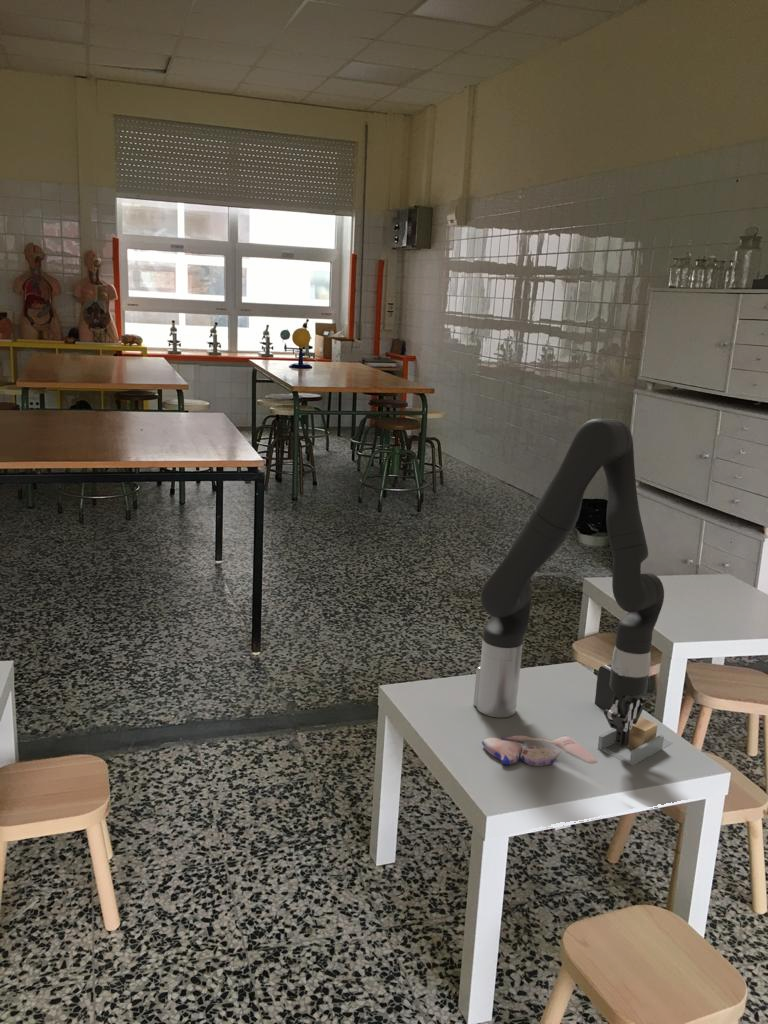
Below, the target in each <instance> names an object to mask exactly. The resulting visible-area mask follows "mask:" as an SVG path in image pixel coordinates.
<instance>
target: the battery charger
mask: <svg viewBox="0 0 768 1024" xmlns="http://www.w3.org/2000/svg"><path fill="white" fill-rule="evenodd" d="M611 666H612V664H607V665H606V664H603V665H601V666H599V668H598V671H597V678H596V686H595V687H596V688H595V697H594V705H595V706H597V707H598V708H600V709H601V710H603V711H605V710H606V709H608V710H610V709H611V707H612V706H613V705H612V699H613V697H614V692H613V690H612V689H611V688H610V685H609V684H610V675H611Z"/></svg>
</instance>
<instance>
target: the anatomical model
mask: <svg viewBox="0 0 768 1024" xmlns="http://www.w3.org/2000/svg"><path fill="white" fill-rule="evenodd" d="M524 741H538V742H545V743H549V744H552V745H555V746H556V747H558V748H559V749H561V750H562V751H564V752H565V753H567V754H569V755H570V756H572V757H574V758H576V759H579V760H581V761H583V762H585V763H587V764H592V765H593V764H597V763H598V760H597V758H596V757H594V756H593V755H592V754H591V753H590V752H589V751H588V750H586V749H585V747H584V746H582V745H581V744H580V743H578V742H577V740H574V739H573V738H572V737H570V736H568V735H563V736H561V737H559V738H555V739H554V740H553V739H552V740H550V739H549V740H548V739H545V738H541V737H540V738H538V737H535V738H534V737H531V736H527V735H521V734H520V735H511V736H505V737H487V738H486V739H484V740H482V741H481V745H482V746H483V748H484V749H485V751H487V752H488V753H489V754H490V755H491V756H493V757H494V758H496V759H498V760H500V762H501V763H502V764H504V765H512V764H516V763H518V761H519V760H521V761H522V762H524V763H525V764H527V765H530V766H535V767H541V766H548V765H552V764H554V763H555V762H556V761H557V760H558V759H557V758H558V756H559V755H560V754H561V751H560V750H557V749H555V748H551V747H546V746H537V745H529V746H525V747H523V749H522V746H521V744H525V742H524ZM520 743H521V744H520Z"/></svg>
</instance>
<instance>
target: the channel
mask: <svg viewBox="0 0 768 1024" xmlns="http://www.w3.org/2000/svg"><path fill="white" fill-rule="evenodd" d="M615 739H616V729H614V728H612V729H610V730H608V731H606V732H605V733H604V732H603V733H602V734H599V737H598V741H597V742H598V744H597V749H598V750H600V751H601V752H604V753H606V754H608V755H610V756H612V757H614V758H616V759H618V760H619V761H622V762H624V763H627V764H629V765H630V766H635V765H637V764H639V763H640V762H642V761H643V760H646V759H647V758H650V757H651V756H653V755H654V754H656V753H658V752H659V751H662V750H663V749H665V748H667V747H668V746H670V745H672V744H673V742H672V741H670V740H668V739H665V737H664V735H662V734H659V735H656V738H654V739H652V740H650V741H648V742H647V743H645V744H643V745H641V746H639V747H637V748H636V749H634V748H632V747H629V746H625V747H627V748H628V749H631V751H630V759H629V758H626V757H625V756H623V755H620V754H619V753H617V752H614V751H612V750H610V749H608V747H610V746H611V745H613V744H616V743H615Z"/></svg>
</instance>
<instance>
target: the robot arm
mask: <svg viewBox="0 0 768 1024" xmlns="http://www.w3.org/2000/svg"><path fill="white" fill-rule="evenodd" d="M601 468H603V471H604V475H605V479H606V484H607V503H606V504H607V505H606V515H605V516H606V518H605V519H606V530H607V537H608V540H609V545H610V550H611V554H612V578H611V579H612V580H611V581H612V582H611V584H612V594H613V597H614V600H615V602H616V604H617V605H618V606H619V608H621V609H622V610H623V611H625V612H627V614H626V615H625V616H624V617H622V618H621V619H620V620H619V621H618V623H617V627H616V632H615V633H616V636H615V644H614V649H613V653H612V658H611V659H612V660H611V665H612V666H611V675H610V684H609V685H610V688H611V689H612V690H613V692H614V697H613V699H612V705H613V706H612V707H611V709H610V710H608V709H606V710H603V711H604V712H603V714H604V716H605V718H606V720H607V721H606V722H608V725H609V728H612V729H616V739H615V743H614V744H615V745H616V746H617V747H621V748H625V747H626V746H627V745H628V740H629V732H630V730H631V728H632V725H633V724H636V723H637V721H638V719H639V717H641V715H642V712H643V710H644V709H645V706H646V704H647V702H648V700H647V698H645V697H643V695H645V694H647V691H648V684H649V678H650V677H649V676H650V675H649V674H650V670H651V669H650V667H651V648H652V640H653V631H654V629H655V626H656V624H657V622H658V619H659V615H660V613H661V610H662V609H663V605H664V599H665V588H664V585H663V582H662V580H661V579H660V578H659V577H658V576H657V575H655V573H651V572H645V573H644V572H643V573H642V572H641V565H642V563H643V562H644V561H645V560H647V559H648V557H649V549H648V544H647V538H646V533H645V531H644V526H643V521H642V516H641V513H640V507H639V499H638V492H637V481H636V470H635V469H636V468H635V451H634V441H633V435H632V431H631V429H630V427H629V426H628V425H627V424H626V423H625V422H624V421H622V420H620V419H616V418H601V417H598V418H592V419H590V420H587V421H586V422H585V423H583V424H582V425H581V426H580V427H579V429H578V430H577V432H576V433H575V434H574V438H573V439H572V441H571V443H570V445H569V448H568V449H567V451H566V454H565V456H564V458H563V460H562V462H561V464H560V466H559V468H558V470H557V472H556V473H555V474H554V476H553V478H552V479H551V481H550V482H549V484H548V486H547V487H546V489H545V491H544V492H543V494H542V495H541V497H540V498H539V500H537V503H536V505H535V506H534V508H533V509H532V511H531V512H530V514H529V516H528V517H527V519H526V521H525V523H524V525H523V527H522V528H521V530H520V531H519V533H518V534H517V536H516V538H515V539H514V541H513V543H512V545H511V547H510V549H509V550H508V552H507V554H506V556H505V557H504V559H503V560H502V561H501V563H500V564H499V565H498V566H497V568H495V570H494V572H493V573H492V574H491V575H490V576H489V578H488V579H487V580H486V582H485V583H484V584H483V585H482V589H481V592H480V603H481V606H482V608H483V610H484V611H485V613H487V614H488V615H489V616H490V618H489V620H487V623H486V624H485V625H484V628H483V631H482V633H483V634H482V641H481V643H482V644H481V653H480V666H478V667H476V672H475V682H474V692H473V706H475V707H476V709H477V710H478V712H480V713H481V714H484V715H486V716H488V717H493V718H500V719H501V718H509V717H512V716H514V715H515V714H516V712H517V703H518V694H519V684H520V682H519V681H520V673H521V665H522V652H523V643H524V638H525V635H526V632H527V631H528V626H529V621H530V616H531V615H530V614H531V607H532V599H533V598H532V597H533V593H532V591H533V590H532V587H531V584H530V580H531V579H532V577H533V576H534V574H535V573H536V572H537V571H538V570H539V569H540V568H541V567H542V566H543V565H544V564H546V562H547V561H548V560H550V558H552V556H554V554H555V553H556V552H557V551H558V550H559V549H560V547H562V545H563V544H564V542H566V539H567V538H568V537H569V535H570V534H571V532H572V530H573V529H574V527H575V525H576V523H577V522H578V520H579V517H580V515H581V509H582V504H583V498H584V495H585V492H586V490H587V487H588V486H589V484H590V483H591V481H593V478H594V477H595V475H596V474H597V473H598V472H599V470H600V469H601Z"/></svg>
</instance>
